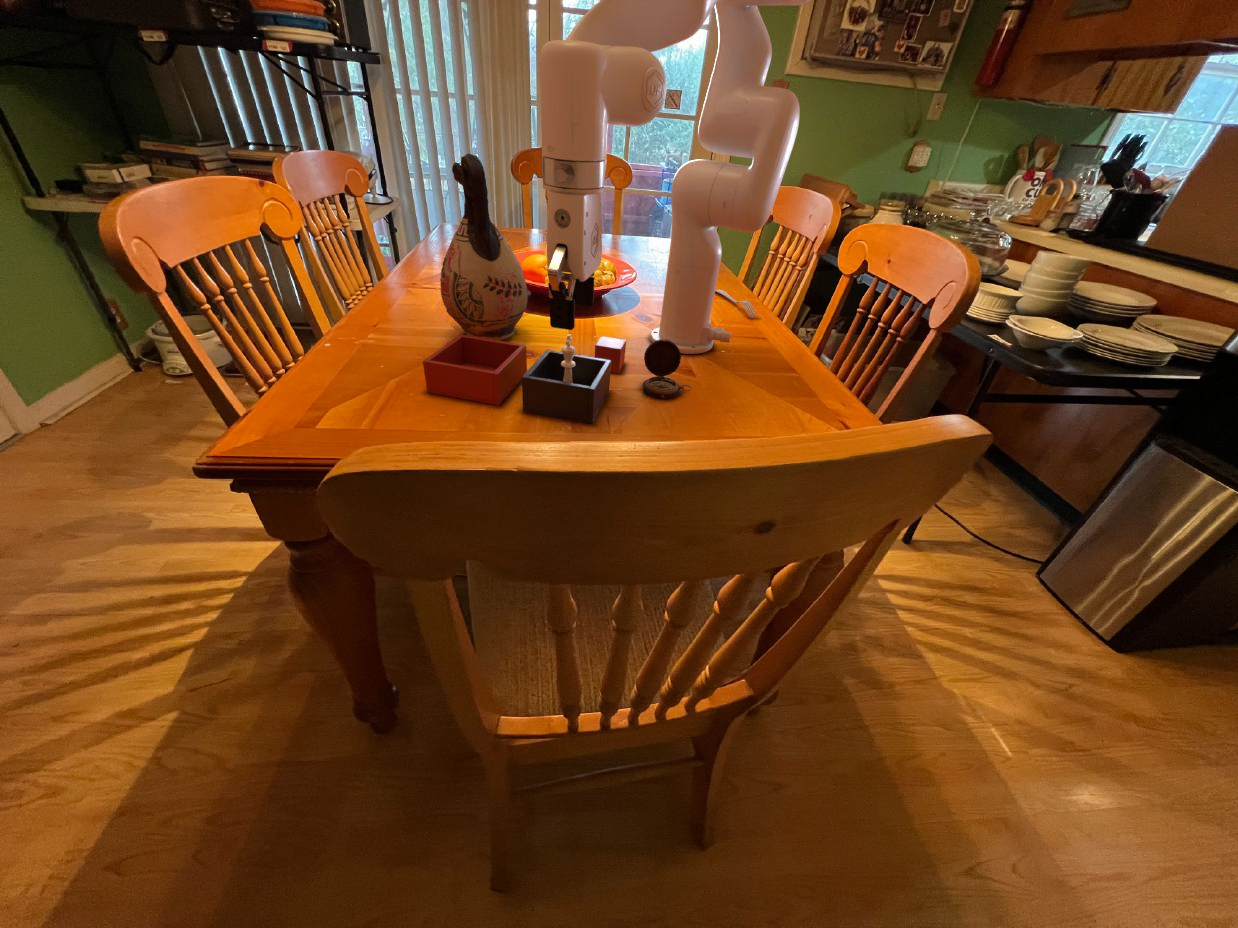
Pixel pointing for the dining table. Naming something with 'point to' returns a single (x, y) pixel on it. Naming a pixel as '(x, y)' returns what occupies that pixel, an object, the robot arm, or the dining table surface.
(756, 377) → the dining table surface
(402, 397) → the dining table surface
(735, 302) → the fork
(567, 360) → the chess piece
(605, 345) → the red block
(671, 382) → the compass
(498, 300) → the ceramic jug
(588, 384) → the charcoal bin
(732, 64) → the robot arm
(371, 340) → the dining table surface
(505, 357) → the red bin
